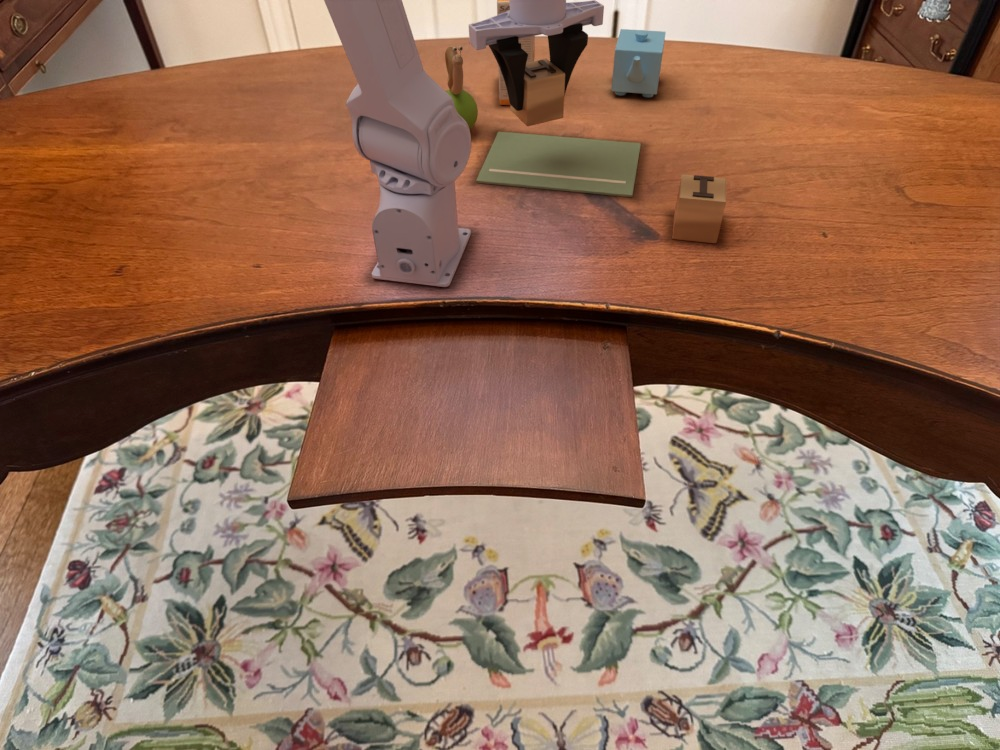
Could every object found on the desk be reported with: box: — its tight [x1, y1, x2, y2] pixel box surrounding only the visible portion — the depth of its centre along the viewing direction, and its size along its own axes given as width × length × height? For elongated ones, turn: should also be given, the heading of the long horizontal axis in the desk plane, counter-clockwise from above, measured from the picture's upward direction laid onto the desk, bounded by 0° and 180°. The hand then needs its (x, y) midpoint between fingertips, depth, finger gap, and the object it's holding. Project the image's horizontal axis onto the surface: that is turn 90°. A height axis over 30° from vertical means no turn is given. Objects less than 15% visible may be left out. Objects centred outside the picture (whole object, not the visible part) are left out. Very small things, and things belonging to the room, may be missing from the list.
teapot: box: [610, 28, 666, 98], centre depth 96 cm, size 12×6×8 cm, turn 168°
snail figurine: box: [444, 45, 479, 131], centre depth 87 cm, size 5×6×12 cm
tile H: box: [509, 58, 565, 127], centre depth 78 cm, size 4×4×5 cm
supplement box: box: [496, 0, 536, 106], centre depth 94 cm, size 8×5×13 cm, turn 179°
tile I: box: [671, 173, 727, 244], centre depth 73 cm, size 4×4×5 cm
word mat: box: [475, 130, 642, 198], centre depth 85 cm, size 12×18×1 cm, turn 78°
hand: (536, 102), depth 79 cm, fingers closed on tile H, 4 cm apart
